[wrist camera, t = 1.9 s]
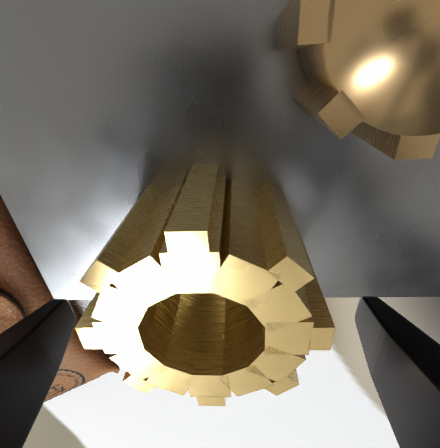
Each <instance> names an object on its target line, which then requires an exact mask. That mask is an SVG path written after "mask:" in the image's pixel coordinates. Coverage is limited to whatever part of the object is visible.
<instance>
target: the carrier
mask: <svg viewBox="0 0 440 448" xmlns="http://www.w3.org/2000/svg"><path fill="white" fill-rule="evenodd" d="M205 163H219V173H220V178H226V189H227V187H228V185H229V183H230V182H231V180H232V179H233V180H235V181H237V182H239V183H241V184H243V185H245V186H247V187H249V188H251V189H253V190H255V191H256V190H257V189H258V188H259V187H260V186H261V185H262V184H263V183H265V182H266V181H267V180H268V181H269V182H270V183H271V184H273V185H274V186H275V187H276V188H277V189H278V190H279V191H280V192H281V193H282V194H284V195H285V198H286V201H287V203H288V206H289V209H290V212H291V214H292V217H293V220H294V223H295V226H296V228H297V231H298V234H301V237H302V240H303V243H304V245H305V248H306V251H307V253H308V256H309V259H310V261H311V264H312V267H313V269H314V272H315V275H316V278H317V280H318V283H319V286H320V288H321V291H322V294H323V296H324V297H362V296H376V297H432V296H433V297H434V296H435V297H437V296H438V297H439V296H440V0H0V195H1V197H2V199H3V201H4V202H5V204H6V206H7V208H8V210H9V212H10V214H11V216H12V218H13V220H14V222H15V224H16V226H17V228H18V230H19V232H20V234H21V236H22V238H23V239H24V241H25V243H26V245H27V247H28V249H29V251H30V253H31V255H32V257H33V259H34V261H35V263H36V265H37V267H38V269H39V271H40V273H41V274H42V276H43V278H44V280H45V282H46V284H47V286H48V288H49V290H50V292H51V294H52V296H53V298H54V299H66V300H92V299H93V297H94V295H95V294H96V291H95V290H93V289H91V288H89V287H88V286H86V285H84V284H83V283H81V282H79V281H80V279H81V278H82V277H83V275H84V274H85V272H86V271H87V270H88V268H89V267H90V265H91V264H92V263H93V261H94V260H95V258H96V257H97V256H98V254H99V253H100V251H101V250H102V249H103V247H104V246H105V244H106V243H107V242H108V240H109V239H110V237H111V236H112V235H113V233H114V232H115V230H116V229H117V228H118V226H119V225H120V223H121V222H122V221H123V219H124V218H125V216H126V215H127V214H128V212H129V211H130V209H131V208H132V207H133V205H134V204H135V202H136V201H137V200H138V198H139V197H140V196H141V195H142V193H143V192H144V191H145V190H146V189H147V187H148V186H149V185H151V186H152V187H153V188H155V189H156V190H157V191H159V192H160V193H161V194H164V193H165V192H167V191H168V190H170V189H171V188H173V187H175V186H176V185H178V184H179V183H181V182H182V181H183V182H184V183H185V182H186V179H187V177H188V174H189V172H190V170H191V167H192V165H193V164H205Z"/></svg>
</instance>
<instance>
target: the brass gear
mask: <svg viewBox="0 0 440 448" xmlns="http://www.w3.org/2000/svg"><path fill="white" fill-rule="evenodd" d="M79 282H81V283H83V284H84V285H86V286H88V287H89V288H91V289H93V290H95V291H96V294H95V295H94V297H93V299H92V300H91V302H90V303H89V305H88V307H87V308H86V310H85V312H84V313H83V315H82V317H81V318H80V320H79V322H78V323H77V325H76V327H75V330H76V332H77V334H78V336H79V338H80V340H81V342H82V344H83V346H84V348H85V349H104V352H105V353H110V354H111V355H110V359H111V360H113V361H114V362H115V363H117V364H118V365H119V366H121V367H122V368H123V369H125V370H126V373H125V376H124V379H123V383H125V384H128V385H130V386H132V387H134V388H136V389H138V390H140V391H142V392H144V393H147V392H149V391H150V390H151V389H153V388H154V387H158V388H162V389H165V390H168V391H171V392H174V393H178V394H181V395H184V394H185V393H186V392H187V391H188V389H189V392H190V396H191V397H197V400H198V405H201V406H225V400H226V397H231V391H232V392H233V393H234V394H235V395H237V396H241V395H244V394H247V393H251V392H254V391H257V390H261V389H266V390H268V391H270V392H271V393H273V394H275V395H279V394H281V393H283V392H285V391H287V390H289V389H291V388H293V387H295V386H297V385H299V382H298V377H297V372H296V368H297V367H298V366H299V365H300V364H301V363H303V362H304V361H305V360H306V359H305V355H309V350H330V349H331V344H332V340H333V336H334V331H335V326H334V323H333V321H332V318H331V315H330V313H329V310H328V307H327V305H326V302H325V299H324V296H323V294H322V291H321V288H320V286H319V283H318V280H317V278H316V275H315V272H314V269H313V267H312V264H311V261H310V259H309V256H308V253H307V251H306V248H305V245H304V243H303V240H302V237H301V234H298V231H297V228H296V226H295V223H294V220H293V217H292V214H291V212H290V209H289V206H288V203H287V201H286V198H285V195H284V194H282V193H281V192H280V191H279V190H278V189H277V188H276V187H275V186H274V185H273V184H271V183H270V182H269V181H268V180H267V181H266V182H265V183H263V184H262V185H261V186H260V187H259V188H258V189H257V190H256V191H255V190H253V189H251V188H249V187H247V186H245V185H243V184H241V183H239V182H237V181H235V180H233V179H232V180H231V182H230V183H229V185H228V187H227V189H226V178H220V173H219V163H205V164H193V165H192V167H191V170H190V172H189V174H188V177H187V179H186V182H185V183H184V182H183V181H182V182H181V183H179V184H178V185H176V186H175V187H173V188H171V189H170V190H168V191H167V192H165V193H164V194H161V193H160V192H159V191H157V190H156V189H155V188H153V187H152V186H151V185H149V186H148V187H147V189H146V190H145V191H144V192H143V193H142V195H141V196H140V197H139V198H138V200H137V201H136V202H135V204H134V205H133V207H132V208H131V209H130V211H129V212H128V214H127V215H126V216H125V218H124V219H123V221H122V222H121V223H120V225H119V226H118V228H117V229H116V230H115V232H114V233H113V235H112V236H111V237H110V239H109V240H108V242H107V243H106V244H105V246H104V247H103V249H102V250H101V251H100V253H99V254H98V256H97V257H96V258H95V260H94V261H93V263H92V264H91V265H90V267H89V268H88V270H87V271H86V272H85V274H84V275H83V277H82V278H81V279H80V281H79Z"/></svg>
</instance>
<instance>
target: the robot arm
mask: <svg viewBox="0 0 440 448" xmlns="http://www.w3.org/2000/svg"><path fill="white" fill-rule="evenodd" d="M355 322H356V326H357V330H358V333H359V337H360V340H361V343H362V347H363V351H364V354H365V358H366V361H367V364H368V368H369V371H370V374H371V377H372V380H373V382H374V385H375V387H376V390H377V392H378V395H379V397H380V399H381V402H382V405H383V407H384V410H385V412H386V415H387V417H388V420H389V422H390V425H391V427H392V429H393V432H394V434H395V437H396V439H397V442H398V444H399V447H400V448H440V344H438V343H437V342H436V341H434V340H433V339H432V338H431V337H429V336H428V335H426V334H425V333H424V332H423V331H421V330H420V329H419V328H418V327H416V326H415V325H414V324H412V323H411V322H410V321H408V320H407V319H406V318H404V317H403V316H402V315H400V314H399V313H398V312H396V311H395V310H394V309H393V308H391V307H390V306H388V305H387V304H386V303H385V302H383V301H382V300H381V299H379V298H378V297H376V296H362V297H361V298H360V299H359V303H358V307H357V311H356V314H355ZM75 323H76V316H75V314H74V312H73V310H72V307H71V305H70V303H69V301H68V300H66V299H52V300H50V301H49V302H47V303H46V304H44V305H43V306H41V307H40V308H38V309H37V310H35V311H34V312H32V313H31V314H29V315H28V316H26V317H25V318H23V319H22V320H20V321H19V322H17V323H16V324H14V325H13V326H11V327H10V328H8V329H7V330H5V331H4V332H2V333H1V334H0V448H22V447H23V445H24V443H25V441H26V438H27V437H28V434H29V432H30V430H31V428H32V426H33V424H34V422H35V420H36V418H37V415H38V413H39V411H40V409H41V407H42V405H43V403H44V401H45V398H46V396H47V394H48V392H49V390H50V388H51V386H52V384H53V381H54V379H55V377H56V375H57V373H58V370H59V368H60V365H61V362H62V360H63V357H64V354H65V351H66V349H67V346H68V343H69V340H70V337H71V335H72V332H73V329H74V326H75Z"/></svg>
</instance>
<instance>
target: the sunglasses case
mask: <svg viewBox="0 0 440 448" xmlns="http://www.w3.org/2000/svg"><path fill="white" fill-rule="evenodd" d="M52 299H54V298H53V296H52V294H51V292H50V290H49V288H48V286H47V284H46V282H45V280H44V278H43V276H42V274H41V273H40V271H39V269H38V267H37V265H36V263H35V261H34V259H33V257H32V255H31V253H30V251H29V249H28V247H27V245H26V243H25V241H24V239H23V238H22V236H21V234H20V232H19V230H18V228H17V226H16V224H15V222H14V220H13V218H12V216H11V214H10V212H9V210H8V208H7V206H6V204H5V202H4V201H3V199H2V197H1V195H0V334H1V333H2V332H4V331H5V330H7V329H8V328H10V327H11V326H13V325H14V324H16V323H17V322H19V321H20V320H22V319H23V318H25V317H26V316H28V315H29V314H31V313H32V312H34V311H35V310H37V309H38V308H40V307H41V306H43V305H44V304H46V303H47V302H49V301H50V300H52ZM68 301H69V303H70V305H71V307H72V310H73V312H74V314H75V316H76V323H75V326H74V329H73V332H72V335H71V337H70V340H69V343H68V346H67V349H66V351H65V354H64V357H63V360H62V362H61V365H60V368H59V370H58V373H57V375H56V377H55V379H54V381H53V384H52V386H51V388H50V390H49V392H48V394H47V396H46V398H45V401H47V400H50V399H52V398H54V397H56V396H58V395H61V394H63V393H65V392H67V391H70V390H72V389H74V388H76V387H79V386H81V385H83V384H85V383H87V382H89V381H91V380H94V379H95V378H98V377H100V376H101V375H103V374H106V373H108V372H115V373H118V372H119V367H118V365H117V364H116V363H115V362H114V361H113V360H111V359H110V355H109V354H108V353H105V352H104V349H85V348H84V346H83V344H82V342H81V340H80V338H79V336H78V334H77V332H76V330H75V327H76V325H77V323H78V322H79V320H80V318H81V317H82V316H81V314H80V313H79V311H78V309H77V308H76V306H75V304H74V302H73V301H72V300H68ZM45 401H44V402H45Z"/></svg>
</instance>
